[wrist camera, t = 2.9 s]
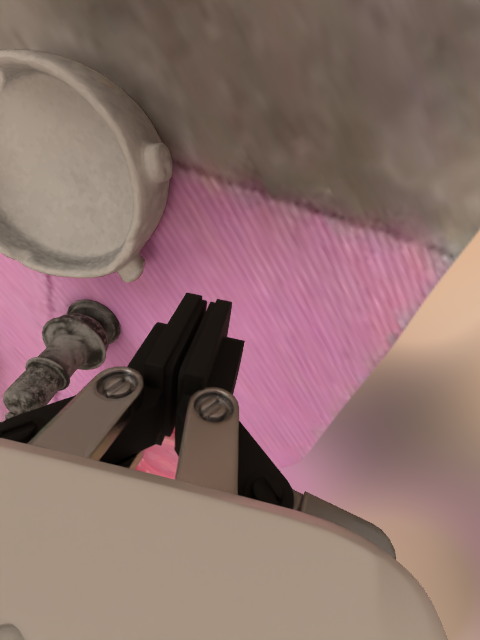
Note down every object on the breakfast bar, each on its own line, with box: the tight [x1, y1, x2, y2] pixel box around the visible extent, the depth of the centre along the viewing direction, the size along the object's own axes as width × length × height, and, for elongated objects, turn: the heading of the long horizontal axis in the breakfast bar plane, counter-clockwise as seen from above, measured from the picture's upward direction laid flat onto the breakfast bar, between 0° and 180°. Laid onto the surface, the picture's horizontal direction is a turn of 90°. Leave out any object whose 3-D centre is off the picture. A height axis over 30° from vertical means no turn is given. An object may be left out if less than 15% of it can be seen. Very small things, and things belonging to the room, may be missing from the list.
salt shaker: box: [3, 300, 120, 420], centre depth 28 cm, size 6×6×12 cm
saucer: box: [135, 428, 179, 480], centre depth 42 cm, size 12×12×3 cm
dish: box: [0, 49, 173, 282], centre depth 23 cm, size 14×14×5 cm
